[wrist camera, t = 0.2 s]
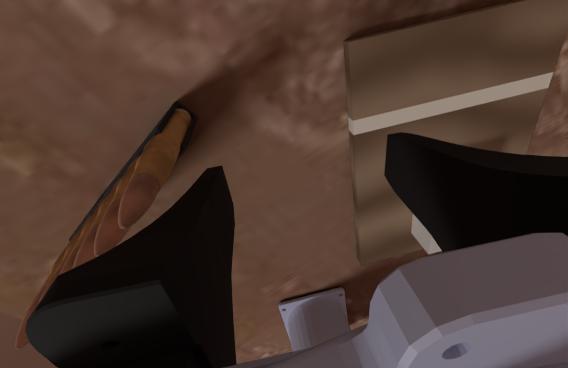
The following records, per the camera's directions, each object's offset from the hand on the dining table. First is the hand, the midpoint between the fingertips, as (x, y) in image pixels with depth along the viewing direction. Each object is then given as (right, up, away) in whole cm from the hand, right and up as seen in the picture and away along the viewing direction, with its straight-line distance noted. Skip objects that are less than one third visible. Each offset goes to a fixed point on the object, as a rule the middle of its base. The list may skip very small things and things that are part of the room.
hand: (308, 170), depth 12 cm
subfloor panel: (+13, +1, +13) cm, 19 cm away
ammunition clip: (-12, +1, +9) cm, 15 cm away
